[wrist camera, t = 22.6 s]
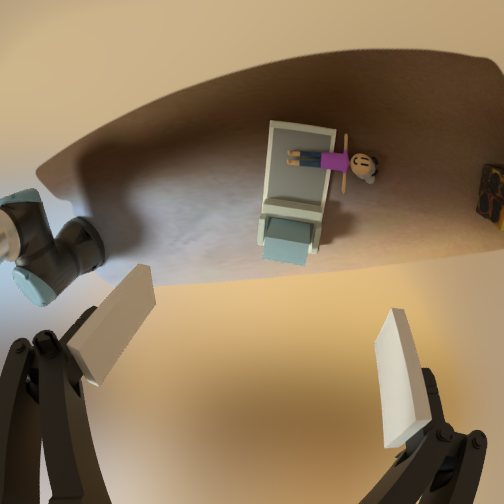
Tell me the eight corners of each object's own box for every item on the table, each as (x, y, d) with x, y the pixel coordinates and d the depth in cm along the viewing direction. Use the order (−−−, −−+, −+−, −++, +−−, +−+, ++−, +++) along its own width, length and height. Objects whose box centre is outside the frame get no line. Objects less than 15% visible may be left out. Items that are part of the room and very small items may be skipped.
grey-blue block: (269, 237, 52) (262, 258, 46) (272, 217, 50) (265, 236, 44) (306, 243, 52) (304, 265, 45) (310, 224, 50) (309, 244, 43)
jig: (259, 243, 54) (255, 252, 51) (270, 120, 43) (267, 120, 40) (315, 252, 53) (315, 262, 50) (336, 129, 41) (338, 130, 38)
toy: (288, 125, 42) (380, 133, 38) (293, 137, 47) (375, 145, 43) (282, 185, 42) (379, 195, 38) (288, 192, 48) (373, 201, 43)
